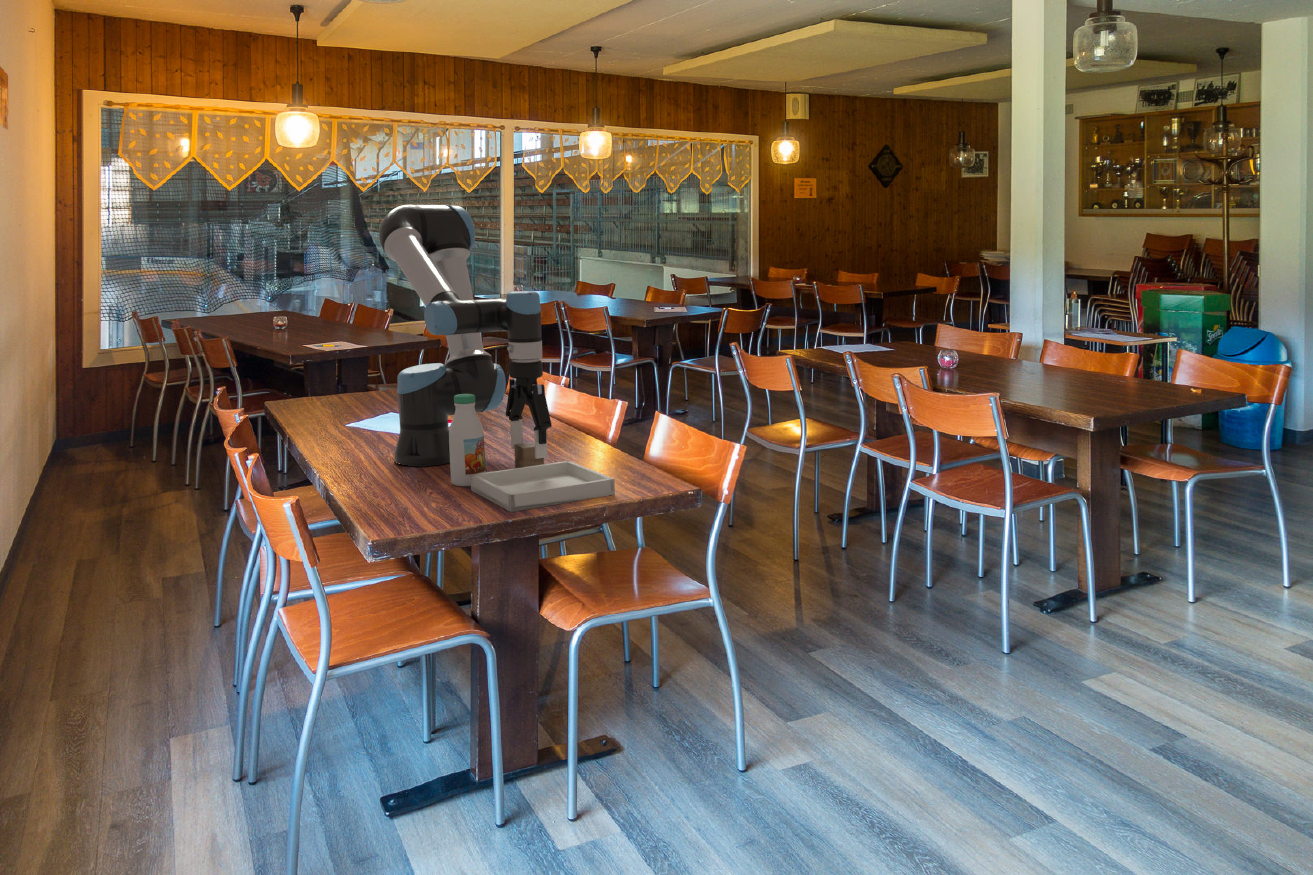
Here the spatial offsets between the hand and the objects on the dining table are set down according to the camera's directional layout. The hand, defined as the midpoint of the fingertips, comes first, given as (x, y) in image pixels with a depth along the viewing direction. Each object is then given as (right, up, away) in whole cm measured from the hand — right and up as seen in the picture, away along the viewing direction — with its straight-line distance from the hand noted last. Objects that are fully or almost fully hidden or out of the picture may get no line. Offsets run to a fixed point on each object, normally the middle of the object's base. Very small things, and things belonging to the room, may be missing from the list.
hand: (529, 452), depth 232 cm
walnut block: (0, -5, +1) cm, 5 cm away
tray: (+5, -8, -16) cm, 18 cm away
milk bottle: (-13, -7, -7) cm, 16 cm away
